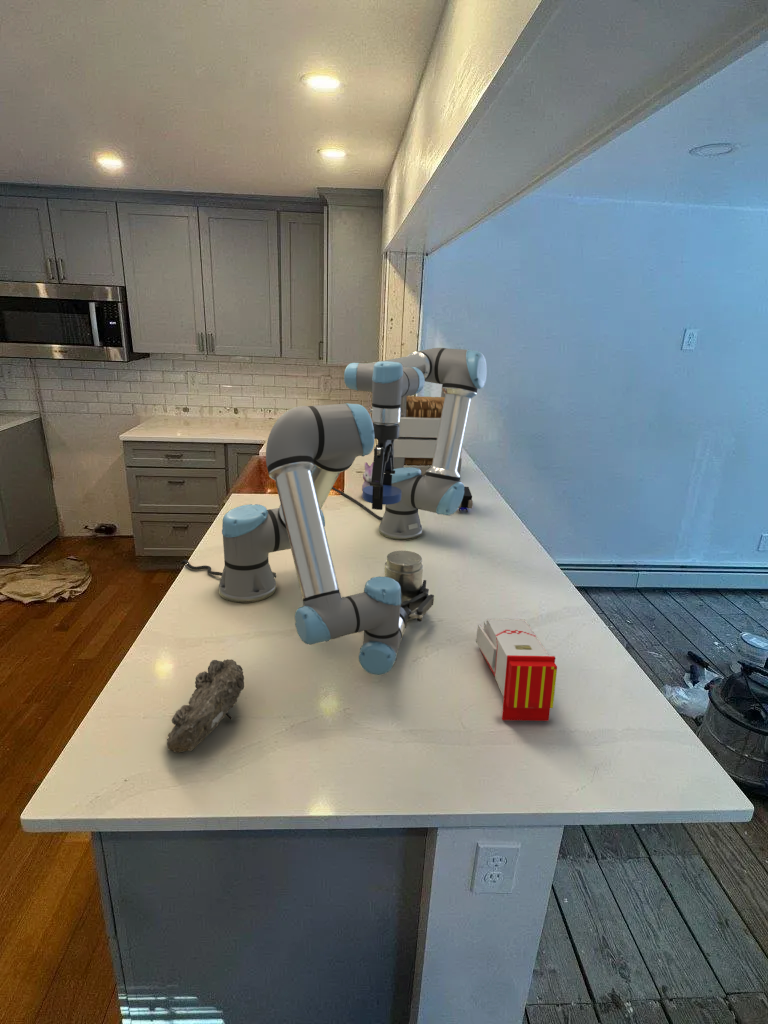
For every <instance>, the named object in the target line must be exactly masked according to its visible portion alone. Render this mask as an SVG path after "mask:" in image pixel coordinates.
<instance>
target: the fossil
mask: <svg viewBox="0 0 768 1024" xmlns="http://www.w3.org/2000/svg"><path fill="white" fill-rule="evenodd" d="M243 670H244V669H243V667H242V665H240V664H237V662H236V661H235V660H234V659H232V658H231V659H227V658H226V659H224V660H223V661H222V660H217V659H212V660H211V661H210V663H209V665H208V666H207V671H201V672H199V673H198V674H197V675H196V676H195V680H194V684H195V685H194V687H195V689H194V690H193V693H192V694H191V697H190V698H189V700H188V704H184V705H182V706H181V707H180V709H177V710H176V711H175V713H174V715H173V716H172V718H171V723H172V724H173V727H172V730H171V731H170V732H168V734H167V738H166V741H167V742H166V745H167V749H168V750H169V751H173V752H174V753H176V754H178V753H182V752H188V751H189V752H192V751H193V750H195V748H196V747H197V746H199V744H200V743H201V742H203V741H204V740H205V739H206V738H207V737H208V736H209V735H210V734H211V733H212V732H214V730H215V729H217V727H218V726H219V724H220V722H221V721H222V720H223V719H224V718H225V716H226V717H227V719H229V720H233V717H232V715H230V714H229V710H230V709H231V708H234V706H235V704H236V703H237V702H238V699H239V697H240V695H241V693H242V691H243V690H245V689H244V688H245V675H244V671H243Z"/></svg>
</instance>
